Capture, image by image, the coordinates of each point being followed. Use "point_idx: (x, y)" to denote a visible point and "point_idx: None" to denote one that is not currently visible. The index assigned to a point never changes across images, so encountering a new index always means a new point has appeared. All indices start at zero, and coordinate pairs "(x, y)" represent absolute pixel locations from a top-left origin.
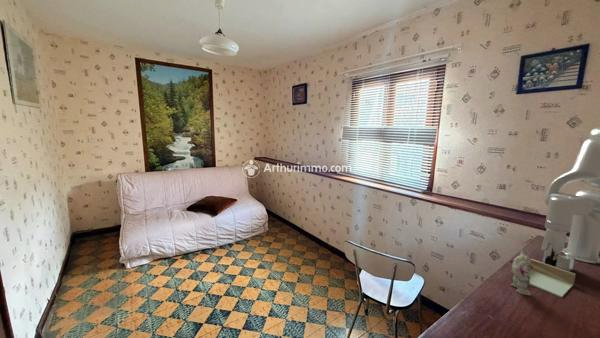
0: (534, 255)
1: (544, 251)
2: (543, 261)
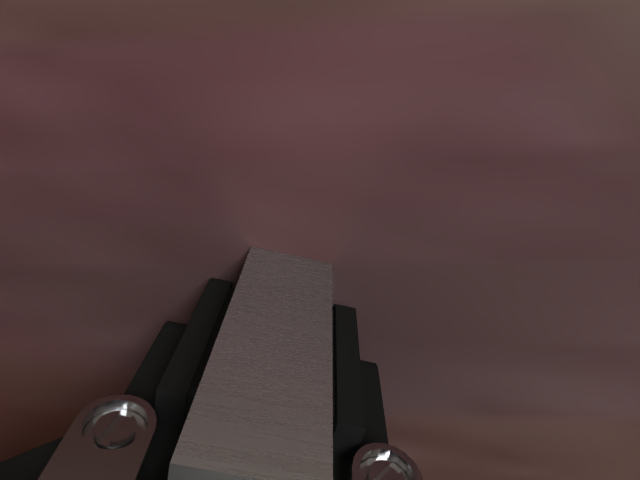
0: (620, 127)
1: (191, 467)
2: (238, 288)
